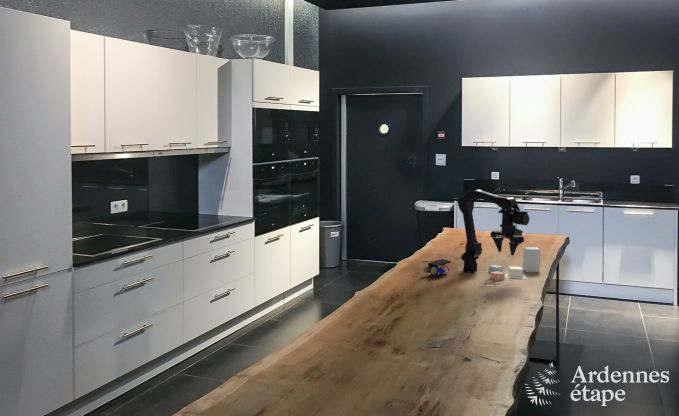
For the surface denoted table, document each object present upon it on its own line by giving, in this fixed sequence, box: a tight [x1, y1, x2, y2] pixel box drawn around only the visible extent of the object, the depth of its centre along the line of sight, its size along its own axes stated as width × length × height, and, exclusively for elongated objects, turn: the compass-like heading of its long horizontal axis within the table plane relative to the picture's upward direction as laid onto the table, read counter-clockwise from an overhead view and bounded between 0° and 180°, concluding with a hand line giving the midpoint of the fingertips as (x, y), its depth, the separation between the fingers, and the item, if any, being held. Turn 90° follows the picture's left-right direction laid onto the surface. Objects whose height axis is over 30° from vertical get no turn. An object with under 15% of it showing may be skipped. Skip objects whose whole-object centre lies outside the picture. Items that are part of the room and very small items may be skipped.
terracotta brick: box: [489, 271, 506, 281], centre depth 331 cm, size 5×5×4 cm
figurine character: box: [422, 258, 453, 278], centre depth 339 cm, size 7×8×15 cm
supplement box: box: [521, 246, 542, 273], centre depth 350 cm, size 7×7×13 cm
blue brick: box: [488, 264, 503, 273], centre depth 345 cm, size 5×5×4 cm
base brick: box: [508, 265, 524, 277], centre depth 337 cm, size 6×6×4 cm
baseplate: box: [505, 273, 528, 280], centre depth 337 cm, size 12×10×1 cm
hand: (506, 253), depth 333 cm, fingers open, 9 cm apart
